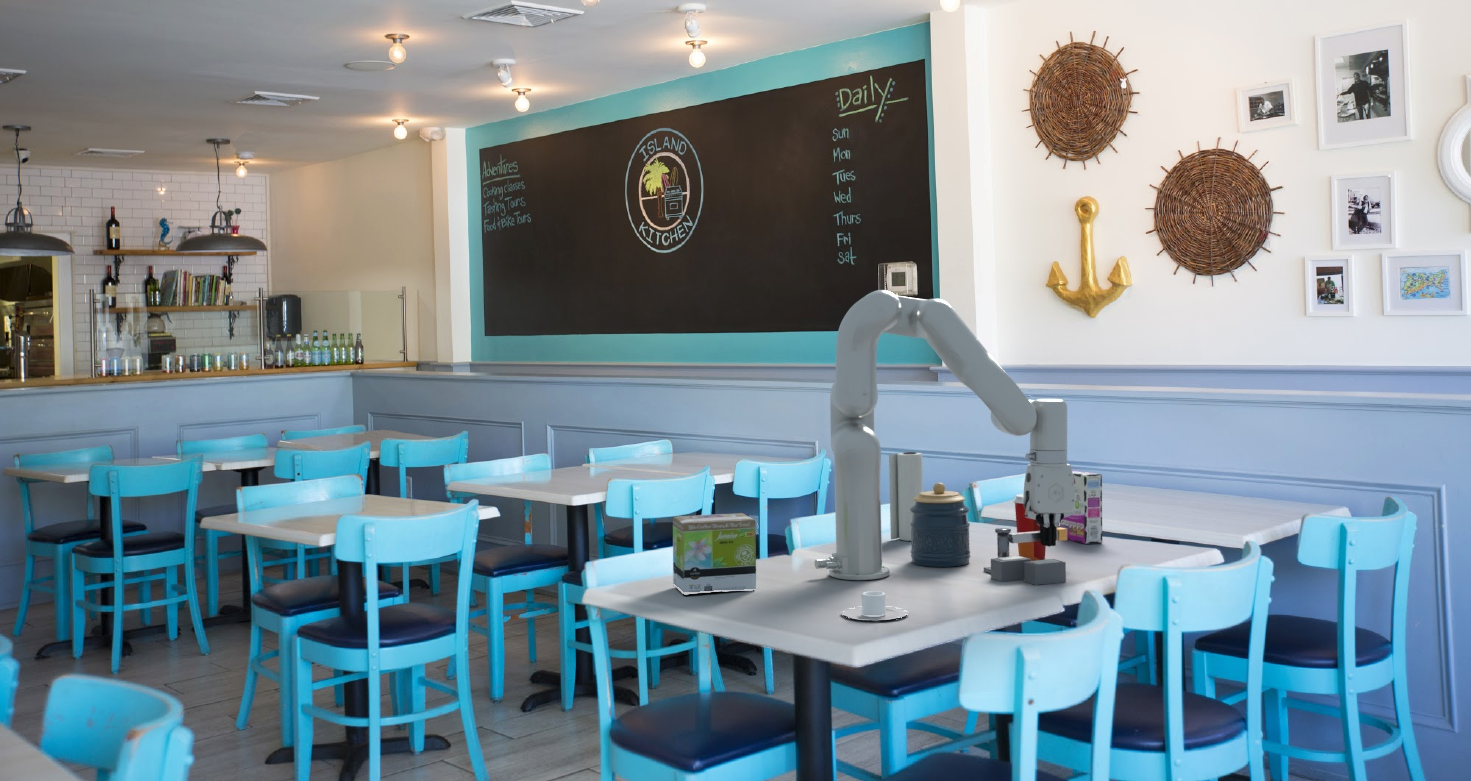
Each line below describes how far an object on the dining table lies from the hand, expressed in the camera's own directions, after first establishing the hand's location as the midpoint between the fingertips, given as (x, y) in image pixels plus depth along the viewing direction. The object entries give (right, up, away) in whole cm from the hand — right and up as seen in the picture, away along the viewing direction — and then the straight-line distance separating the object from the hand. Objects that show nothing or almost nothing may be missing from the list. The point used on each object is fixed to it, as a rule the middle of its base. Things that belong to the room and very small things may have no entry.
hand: (1048, 545), depth 250 cm
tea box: (-70, -8, -10) cm, 71 cm away
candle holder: (-40, -9, -36) cm, 55 cm away
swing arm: (-2, 0, +2) cm, 3 cm away
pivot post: (-9, -6, 0) cm, 11 cm away
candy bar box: (+17, -4, +36) cm, 40 cm away
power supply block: (-4, -6, -11) cm, 13 cm away
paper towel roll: (-23, -4, +44) cm, 49 cm away
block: (-9, -6, -7) cm, 13 cm away
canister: (-20, -6, +13) cm, 25 cm away
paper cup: (0, -5, +15) cm, 15 cm away
